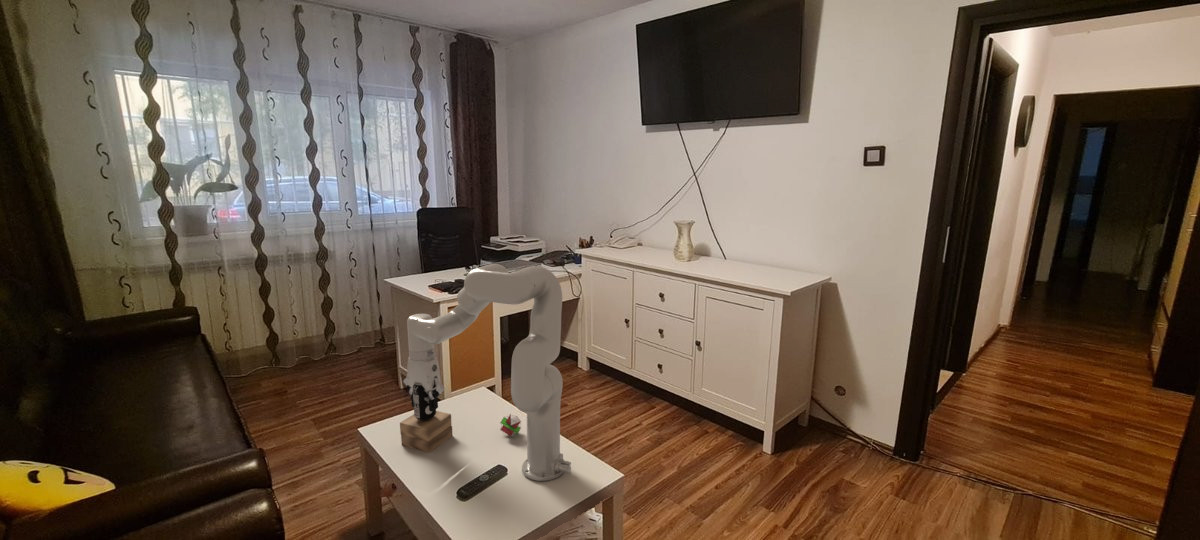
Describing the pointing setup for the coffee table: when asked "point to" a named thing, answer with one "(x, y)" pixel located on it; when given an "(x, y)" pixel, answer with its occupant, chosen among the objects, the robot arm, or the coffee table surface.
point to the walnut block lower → (427, 445)
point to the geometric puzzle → (510, 425)
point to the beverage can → (422, 403)
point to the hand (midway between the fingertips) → (424, 406)
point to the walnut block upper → (425, 426)
